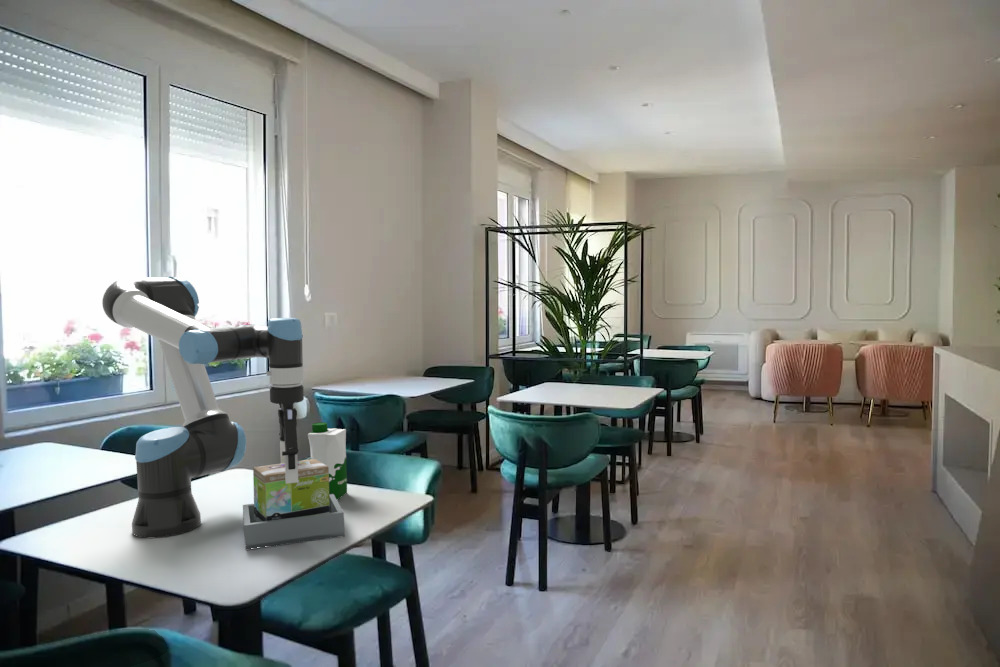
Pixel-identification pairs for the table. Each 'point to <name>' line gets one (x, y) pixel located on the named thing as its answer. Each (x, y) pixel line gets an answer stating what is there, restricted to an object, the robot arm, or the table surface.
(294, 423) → the robot arm
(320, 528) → the walled tray
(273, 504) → the tea box
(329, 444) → the milk carton
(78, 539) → the table surface
